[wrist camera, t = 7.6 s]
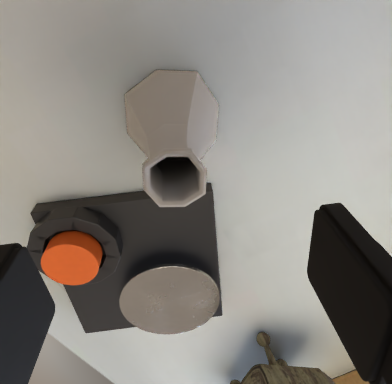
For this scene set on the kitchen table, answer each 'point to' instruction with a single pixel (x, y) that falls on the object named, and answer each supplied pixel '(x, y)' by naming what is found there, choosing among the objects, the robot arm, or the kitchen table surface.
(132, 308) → the weighing pan
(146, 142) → the flask
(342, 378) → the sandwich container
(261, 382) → the tabletop clock
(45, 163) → the kitchen table surface
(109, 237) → the scale
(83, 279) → the scale button
